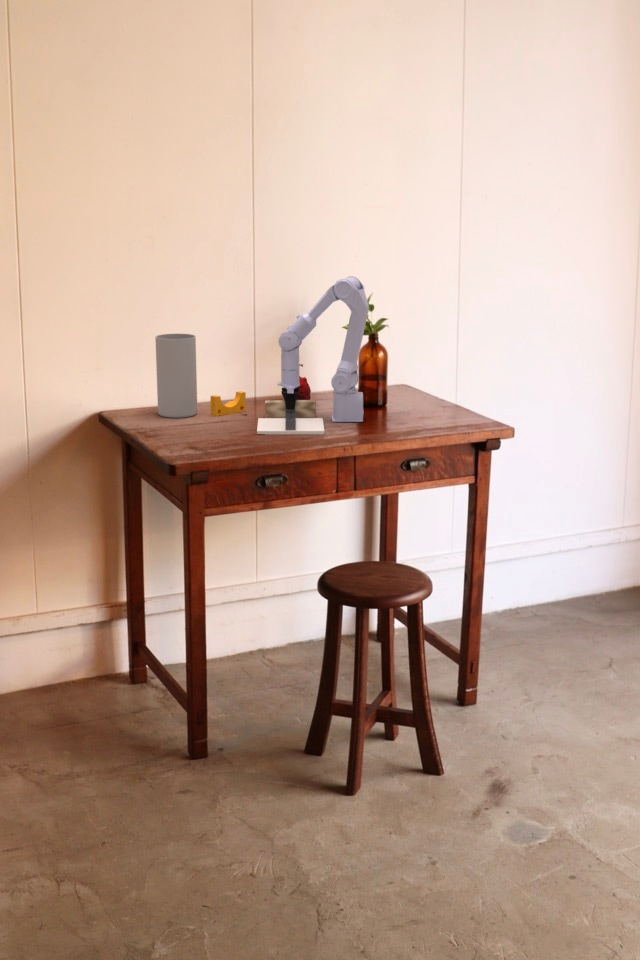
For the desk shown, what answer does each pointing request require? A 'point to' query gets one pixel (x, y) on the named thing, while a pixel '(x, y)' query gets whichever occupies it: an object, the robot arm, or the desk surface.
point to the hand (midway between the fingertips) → (290, 411)
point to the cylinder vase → (176, 375)
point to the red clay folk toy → (303, 388)
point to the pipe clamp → (228, 404)
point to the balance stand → (290, 425)
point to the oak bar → (279, 408)
